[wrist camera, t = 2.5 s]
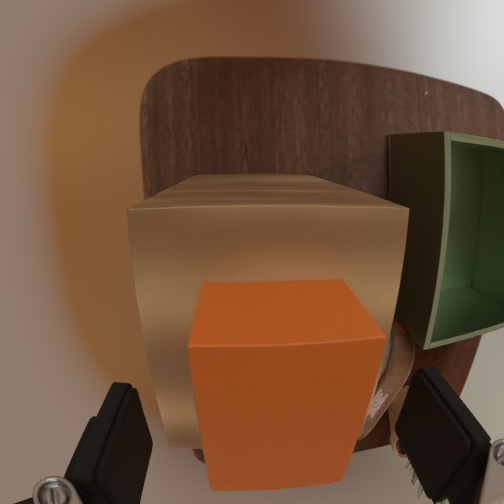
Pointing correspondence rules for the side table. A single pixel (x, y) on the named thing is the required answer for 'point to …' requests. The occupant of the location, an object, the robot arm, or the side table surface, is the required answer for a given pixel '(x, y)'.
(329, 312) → the block
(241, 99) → the side table surface
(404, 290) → the trash bin
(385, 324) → the wood grain block
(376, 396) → the tin
